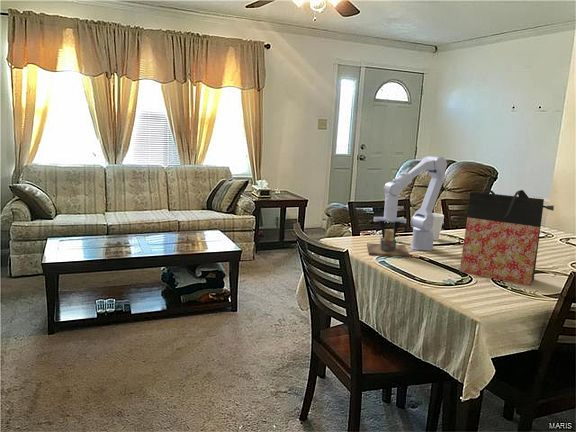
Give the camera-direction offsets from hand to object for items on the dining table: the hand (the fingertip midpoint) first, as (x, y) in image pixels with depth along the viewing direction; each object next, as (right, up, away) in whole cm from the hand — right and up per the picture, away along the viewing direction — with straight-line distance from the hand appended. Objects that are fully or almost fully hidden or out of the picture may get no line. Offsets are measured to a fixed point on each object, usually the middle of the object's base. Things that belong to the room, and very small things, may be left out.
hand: (388, 237), depth 214 cm
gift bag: (+37, -14, -31) cm, 51 cm away
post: (0, -5, +1) cm, 5 cm away
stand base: (0, -6, +1) cm, 6 cm away
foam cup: (+29, -2, +29) cm, 41 cm away
